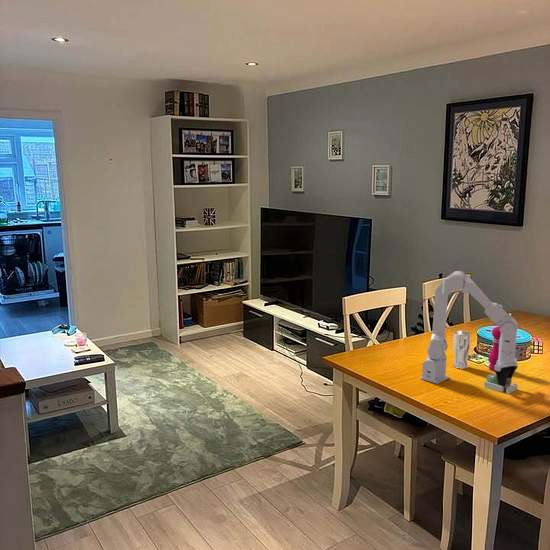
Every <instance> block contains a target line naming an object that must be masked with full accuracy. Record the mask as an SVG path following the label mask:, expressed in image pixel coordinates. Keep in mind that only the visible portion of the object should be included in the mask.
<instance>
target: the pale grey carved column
mask: <svg viewBox="0 0 550 550" xmlns="http://www.w3.org/2000/svg"><path fill="white" fill-rule="evenodd" d="M471 336H472V335H471V332H470V331H468V330H461V329H460V330H455V331H454V332H453V338H452V340H453V341H452V347H453V357H454V359H453V363H452V367H453V366H454V368H455V367H456V368H455V369H457V368H460V369H459V370H467V369H468V368H469V364H468V359H469V354H470V349H471V341H472V340H471ZM466 368H467V369H466Z"/></svg>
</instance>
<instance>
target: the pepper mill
mask: <svg viewBox="0 0 550 550" xmlns="http://www.w3.org/2000/svg"><path fill="white" fill-rule="evenodd" d="M491 336H492V340H491V341H492V342H493V345H492V346H493V347H492V350H491V351H490V352H489V355H488V359H487V360H488V362H489V364H488V370H489V371H491V372H495V371H494V366H495V365H496V363H497V360H498V355H499V342H500V337H501V332H500V327H499V326H495V327H493V328H492V330H491Z"/></svg>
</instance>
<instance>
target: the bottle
mask: <svg viewBox="0 0 550 550" xmlns="http://www.w3.org/2000/svg"><path fill="white" fill-rule="evenodd" d="M486 382H490V383H493V384H497V385H499V384H498V379H497V375H496V374H493V373H491V374H490V373H489V374H487V377H486ZM506 384H511V385H512V379H511V378H507V380H506Z"/></svg>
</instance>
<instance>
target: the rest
mask: <svg viewBox="0 0 550 550" xmlns="http://www.w3.org/2000/svg"><path fill="white" fill-rule="evenodd" d="M483 387H484V388H487V389H490V390H493V391H497V392H500V393H503V392H504V390H505V389H504V388H506V392H505V394H506V395H510V394H512V393H513V392H515V391H517V390H518V383H513V384H512V383H511V384H505V387H503V386H500V385H497V384H493V383H490V382H487V381H484V386H483Z"/></svg>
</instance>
